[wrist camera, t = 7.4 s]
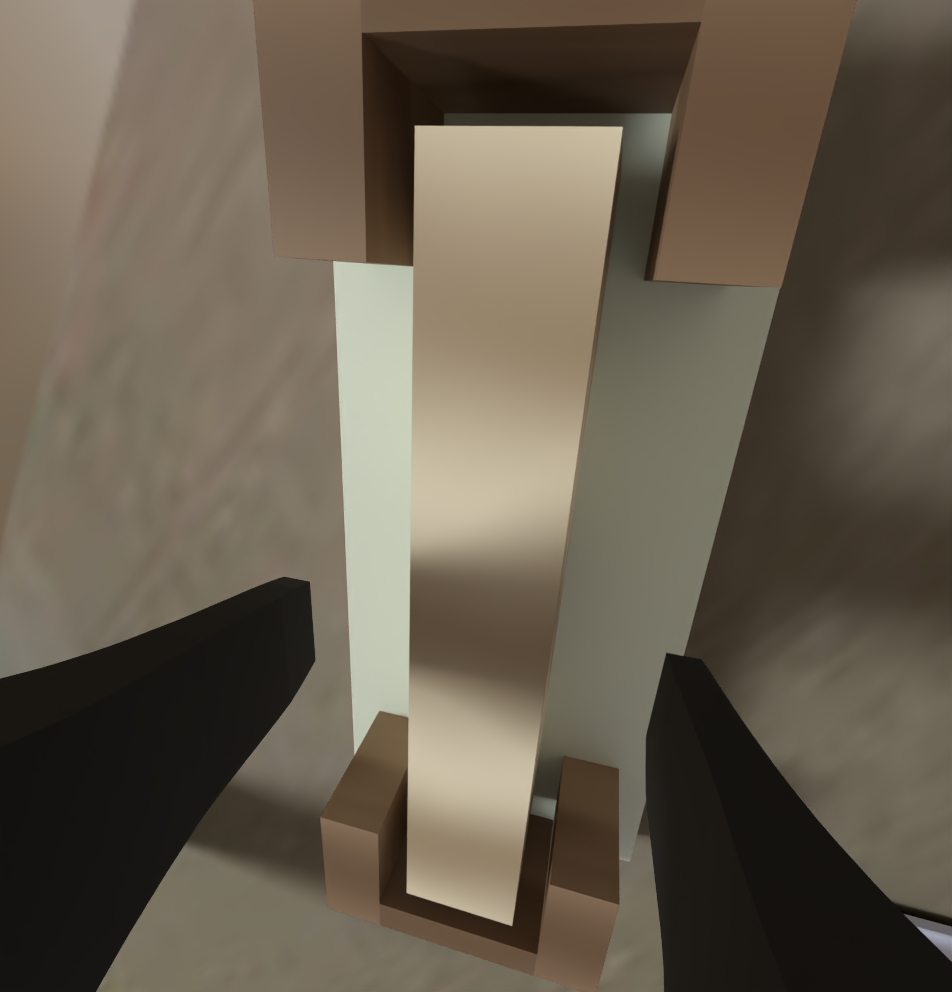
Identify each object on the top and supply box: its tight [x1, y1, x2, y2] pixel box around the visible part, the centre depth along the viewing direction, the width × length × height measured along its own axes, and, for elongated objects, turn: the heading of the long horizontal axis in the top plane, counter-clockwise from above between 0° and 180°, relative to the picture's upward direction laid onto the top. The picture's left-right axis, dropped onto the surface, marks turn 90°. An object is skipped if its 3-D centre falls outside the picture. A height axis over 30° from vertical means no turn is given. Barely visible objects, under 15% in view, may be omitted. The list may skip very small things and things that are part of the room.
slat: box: [407, 126, 623, 926], centre depth 13 cm, size 18×3×4 cm, turn 176°
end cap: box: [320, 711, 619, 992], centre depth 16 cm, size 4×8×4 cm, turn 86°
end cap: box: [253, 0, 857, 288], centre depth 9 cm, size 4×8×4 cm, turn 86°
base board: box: [333, 113, 780, 862], centre depth 15 cm, size 22×10×1 cm, turn 176°
